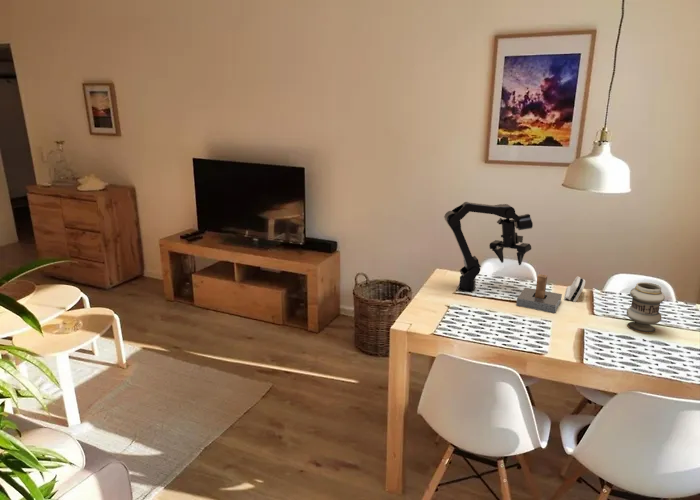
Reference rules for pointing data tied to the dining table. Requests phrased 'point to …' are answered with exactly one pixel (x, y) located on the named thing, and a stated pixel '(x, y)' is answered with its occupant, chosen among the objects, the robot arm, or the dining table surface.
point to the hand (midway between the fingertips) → (511, 263)
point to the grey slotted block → (539, 300)
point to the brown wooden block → (541, 286)
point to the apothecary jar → (645, 307)
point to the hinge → (575, 289)
